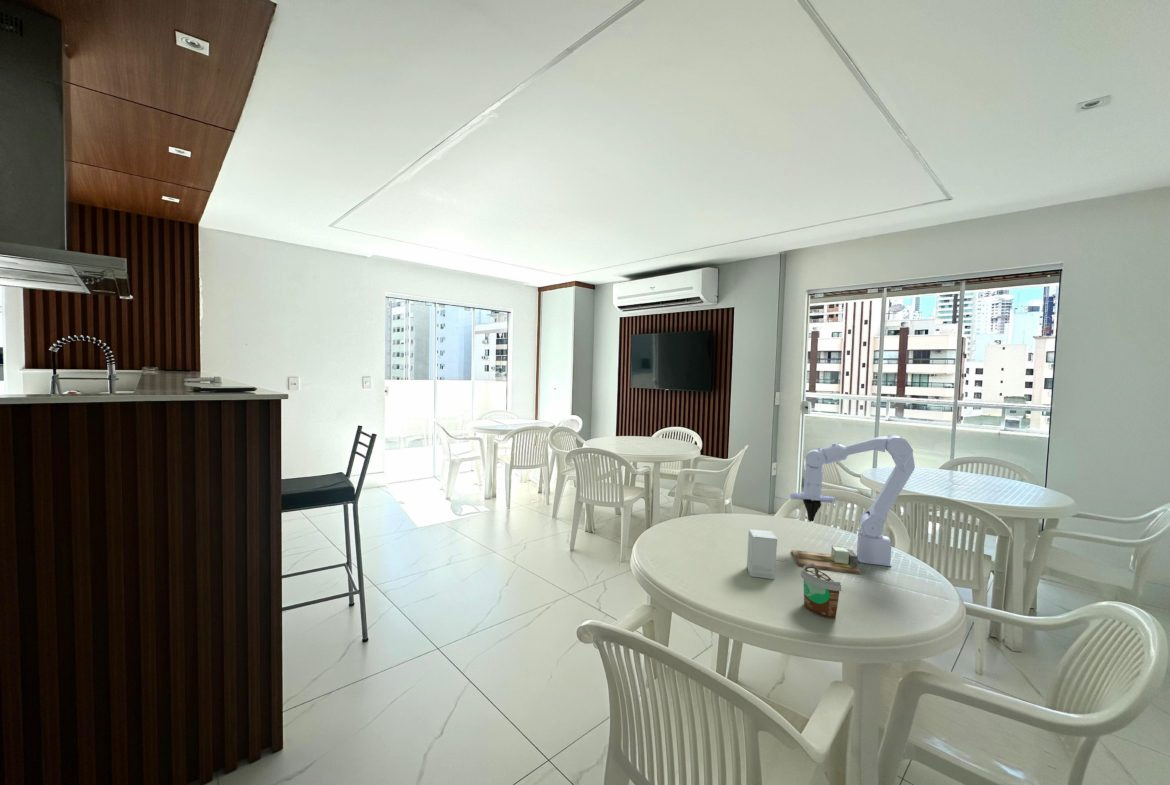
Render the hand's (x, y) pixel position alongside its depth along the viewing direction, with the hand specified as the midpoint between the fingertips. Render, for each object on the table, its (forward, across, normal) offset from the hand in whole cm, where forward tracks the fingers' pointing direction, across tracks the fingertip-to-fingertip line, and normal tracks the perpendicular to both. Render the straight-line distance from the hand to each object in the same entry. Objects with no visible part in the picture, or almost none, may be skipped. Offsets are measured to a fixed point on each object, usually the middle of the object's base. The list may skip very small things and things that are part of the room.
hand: (810, 520), depth 162 cm
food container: (+11, -9, -47) cm, 49 cm away
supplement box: (+11, -20, -28) cm, 36 cm away
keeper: (+9, +7, -12) cm, 16 cm away
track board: (+10, +2, -12) cm, 16 cm away
